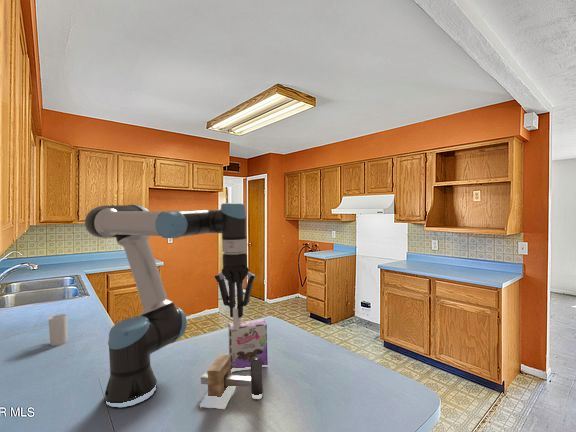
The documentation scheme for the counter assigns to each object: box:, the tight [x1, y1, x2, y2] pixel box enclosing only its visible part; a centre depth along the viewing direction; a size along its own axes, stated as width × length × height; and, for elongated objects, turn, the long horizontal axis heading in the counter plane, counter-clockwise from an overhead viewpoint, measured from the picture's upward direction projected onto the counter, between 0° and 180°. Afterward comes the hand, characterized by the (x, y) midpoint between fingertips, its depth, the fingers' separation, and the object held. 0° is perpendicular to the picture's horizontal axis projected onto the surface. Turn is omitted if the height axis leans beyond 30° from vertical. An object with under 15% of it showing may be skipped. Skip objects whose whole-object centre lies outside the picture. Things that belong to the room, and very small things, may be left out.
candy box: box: [228, 318, 268, 369], centre depth 117 cm, size 14×6×16 cm, turn 105°
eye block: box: [206, 354, 233, 397], centre depth 100 cm, size 8×14×10 cm, turn 171°
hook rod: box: [200, 356, 264, 395], centre depth 99 cm, size 20×4×12 cm, turn 81°
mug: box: [48, 313, 68, 347], centre depth 142 cm, size 10×7×12 cm, turn 64°
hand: (237, 327), depth 98 cm, fingers closed
